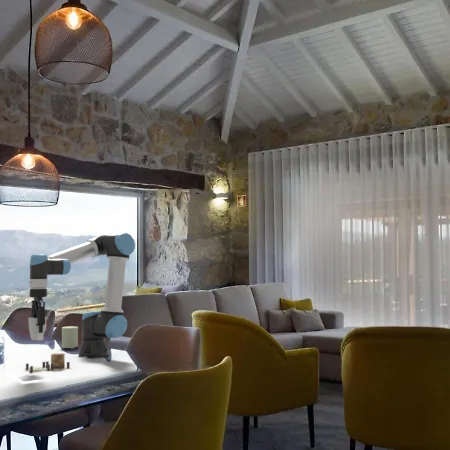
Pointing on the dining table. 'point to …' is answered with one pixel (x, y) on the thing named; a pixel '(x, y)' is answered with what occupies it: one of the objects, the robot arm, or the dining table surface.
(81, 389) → the dining table surface
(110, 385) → the dining table surface
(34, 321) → the cup
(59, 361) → the wooden round post
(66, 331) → the can
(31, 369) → the pin board
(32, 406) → the dining table surface
